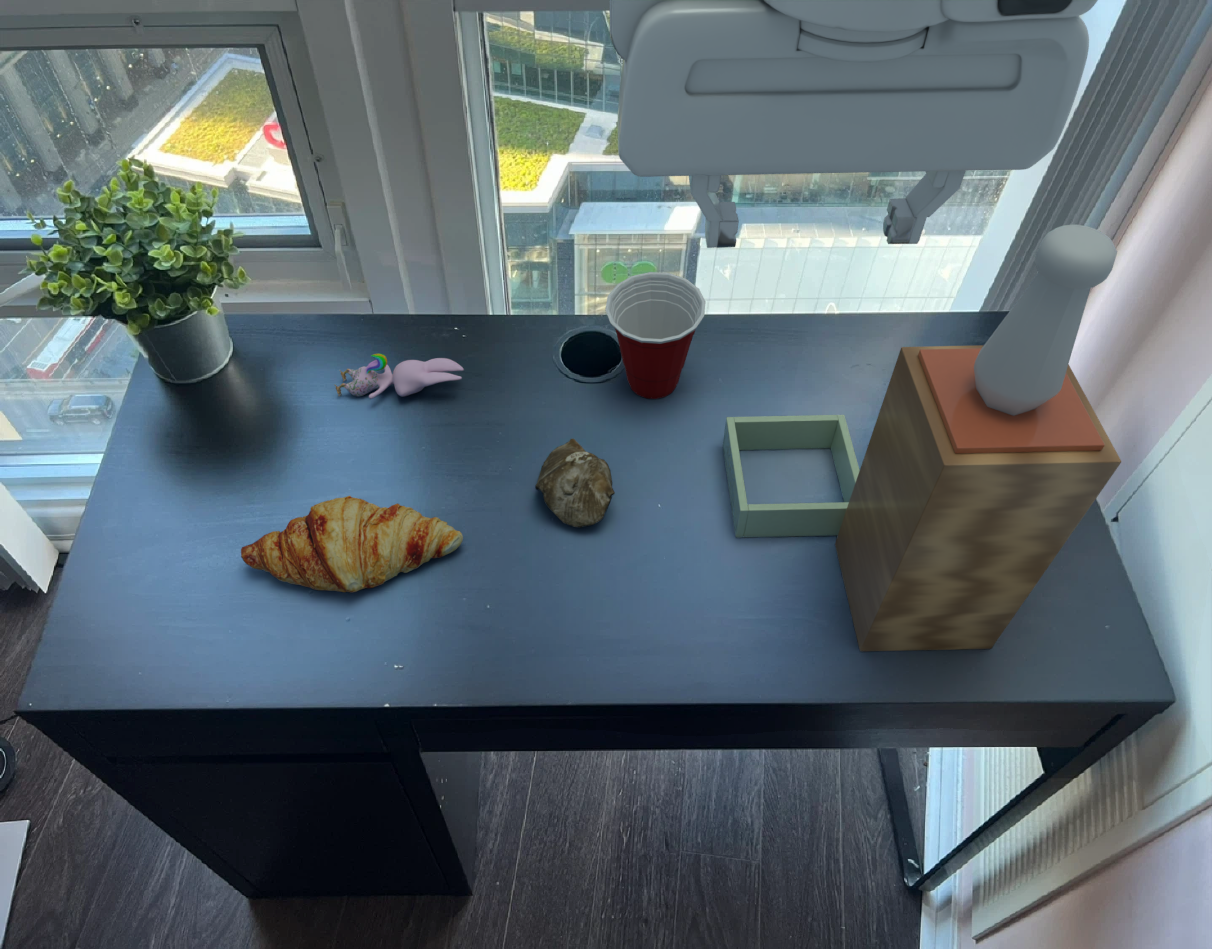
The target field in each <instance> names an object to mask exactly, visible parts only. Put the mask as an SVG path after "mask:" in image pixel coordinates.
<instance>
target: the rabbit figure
mask: <svg viewBox="0 0 1212 949" xmlns="http://www.w3.org/2000/svg"><path fill="white" fill-rule="evenodd" d="M370 357H373V358H374V360H372V361H371V362H369V363H368V364H367V366H360V367H359V368H357V369H351V368H346V370H344V371H342V370H341V369H338V371H339V373H340V376H341V378H342V380H343V381H342V383H341V384H340V385H338V386H337V384H334V387H335V390H336V392H337V397H342V395H343V394H342V389H341V388H344V389H346V390H347V392H349V393H350V394H351V395H352V396H354V397H363V396H365V395H366V394H369V393H370V394H369V395H368V399H370V400H371V399H374V398H375V397H378V396H379V395H380V394H382V393H383V392H384V391H385V390H387V389H388V387H390V386H392V385H394V390H395V393H396V394H397V395H398V396H400V397H407V396H410V395H414V394H417V393H419V392H422V390H423V389H424V388H425V387H429V386H433V385H435V384H439V383H444V382H453V381H460V380H462V379H463V377H462V376H460V375H457V374H453V373H450V372H463V371H465V369H464V368H463V366H462V365H460V364H459V363H457V362H456V361H455V360H452V359H450V358H446V357H437V358H431V359H429V360H426V361H422V360H418V359H407V360H403V361H401V362H399V363H398V364H397V365H396V366H395V367H394V369H393V371H392V370H391V368H390V366H389V364H388V358H387V356H386V355H385V354H383V353H374V354H372V355H370ZM382 370H384V372H383V373H378V372H379V371H382ZM377 371H378V372H377ZM347 374H348V375H349V376H350V377H351V379H352V381H350V382H348V383H344V382H347ZM375 389H377V390H376V391H374V390H375ZM372 391H374V392H372ZM371 392H372V393H371Z"/></svg>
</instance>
